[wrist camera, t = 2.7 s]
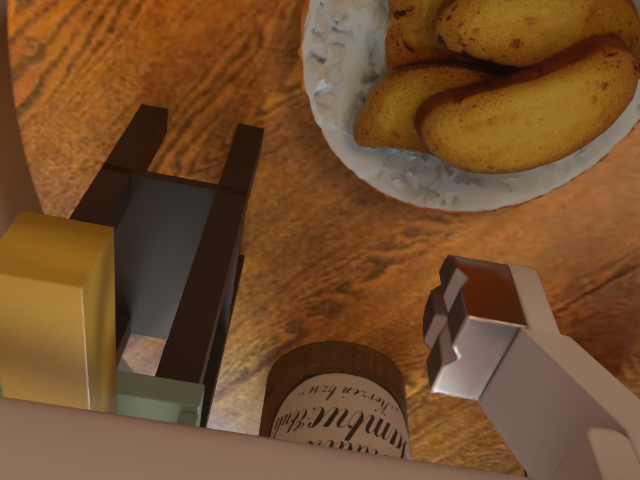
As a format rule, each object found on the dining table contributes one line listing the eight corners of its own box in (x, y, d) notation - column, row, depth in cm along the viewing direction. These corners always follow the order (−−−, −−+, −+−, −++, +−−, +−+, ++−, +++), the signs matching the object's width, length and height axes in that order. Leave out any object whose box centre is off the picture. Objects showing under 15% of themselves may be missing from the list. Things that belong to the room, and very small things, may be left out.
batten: (21, 210, 20) (-24, 269, 18) (114, 226, 20) (82, 288, 18) (64, 529, 33) (42, 587, 31) (119, 537, 34) (101, 595, 31)
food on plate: (472, -293, 31) (496, -304, 26) (767, -11, 39) (831, 23, 34) (237, 91, 45) (222, 134, 40) (490, 244, 52) (505, 296, 47)
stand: (137, 97, 46) (-62, 397, 24) (269, 123, 46) (192, 436, 25) (135, 257, 55) (-7, 572, 34) (244, 276, 56) (173, 597, 35)
